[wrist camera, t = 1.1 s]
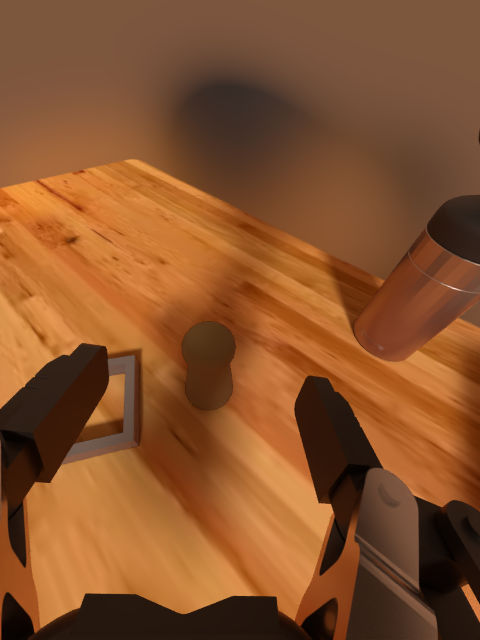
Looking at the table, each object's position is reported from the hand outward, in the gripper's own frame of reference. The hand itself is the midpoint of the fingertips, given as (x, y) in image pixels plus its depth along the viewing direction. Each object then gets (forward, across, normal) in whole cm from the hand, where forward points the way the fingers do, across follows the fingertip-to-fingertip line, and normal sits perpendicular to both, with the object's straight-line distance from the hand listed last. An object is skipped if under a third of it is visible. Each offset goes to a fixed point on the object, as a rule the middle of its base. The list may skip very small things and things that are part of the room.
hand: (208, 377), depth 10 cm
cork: (+15, -1, +16) cm, 22 cm away
